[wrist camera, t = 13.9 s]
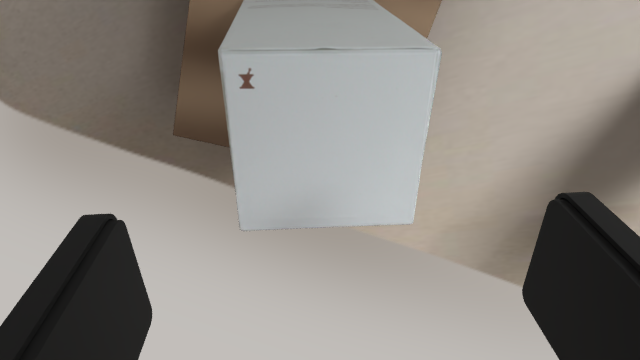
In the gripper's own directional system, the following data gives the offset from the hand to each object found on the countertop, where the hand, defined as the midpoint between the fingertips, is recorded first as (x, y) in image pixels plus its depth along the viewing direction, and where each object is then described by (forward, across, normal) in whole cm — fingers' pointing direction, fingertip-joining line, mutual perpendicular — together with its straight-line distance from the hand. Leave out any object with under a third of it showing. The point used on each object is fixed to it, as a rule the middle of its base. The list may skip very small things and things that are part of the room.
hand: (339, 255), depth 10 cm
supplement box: (+19, 0, +1) cm, 19 cm away
